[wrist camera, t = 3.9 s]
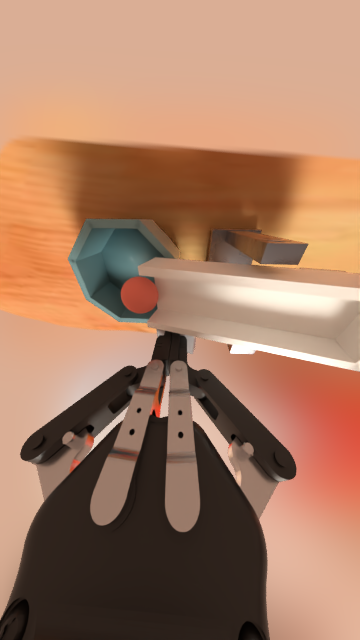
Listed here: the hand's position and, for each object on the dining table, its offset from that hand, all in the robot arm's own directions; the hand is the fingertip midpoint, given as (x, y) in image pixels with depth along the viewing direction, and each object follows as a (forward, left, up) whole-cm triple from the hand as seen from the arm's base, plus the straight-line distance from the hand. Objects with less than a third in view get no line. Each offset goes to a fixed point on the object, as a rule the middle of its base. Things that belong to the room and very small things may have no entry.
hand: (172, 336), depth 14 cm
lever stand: (-6, -4, -8) cm, 11 cm away
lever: (-7, -3, -3) cm, 8 cm away
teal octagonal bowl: (+5, -4, -8) cm, 11 cm away
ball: (+3, -4, 0) cm, 5 cm away
